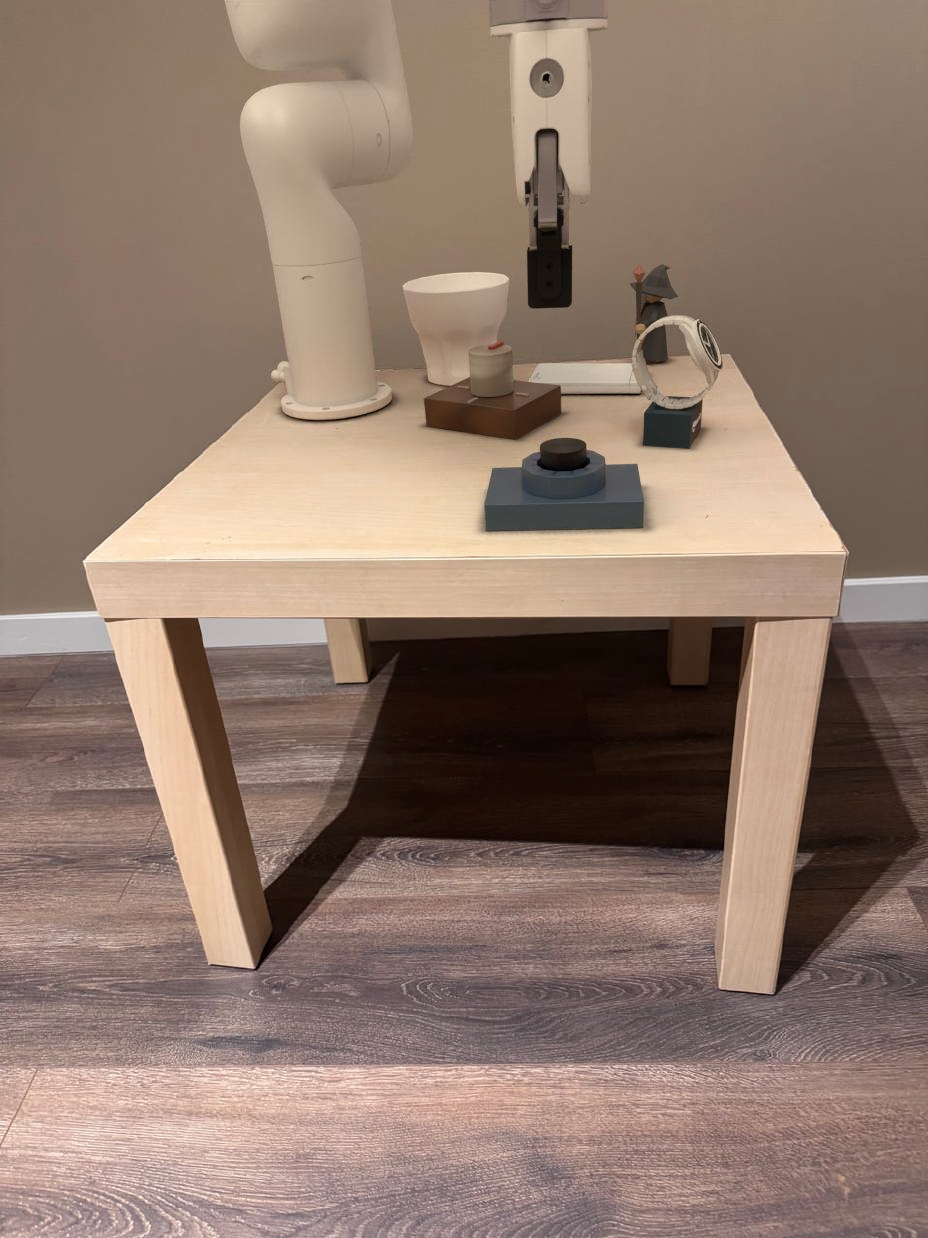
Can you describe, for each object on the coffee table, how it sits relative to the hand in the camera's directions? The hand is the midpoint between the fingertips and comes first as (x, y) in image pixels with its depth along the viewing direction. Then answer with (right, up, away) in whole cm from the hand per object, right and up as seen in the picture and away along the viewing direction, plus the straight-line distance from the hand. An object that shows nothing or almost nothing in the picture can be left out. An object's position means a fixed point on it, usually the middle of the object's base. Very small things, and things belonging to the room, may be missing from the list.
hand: (550, 304), depth 67 cm
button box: (+2, -14, +6) cm, 16 cm away
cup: (-7, +6, +43) cm, 44 cm away
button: (+1, -11, +4) cm, 12 cm away
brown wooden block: (-3, -2, +27) cm, 28 cm away
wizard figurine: (+16, +7, +43) cm, 46 cm away
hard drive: (+8, +3, +36) cm, 37 cm away
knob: (-3, 0, +26) cm, 26 cm away
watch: (+14, -6, +19) cm, 24 cm away
